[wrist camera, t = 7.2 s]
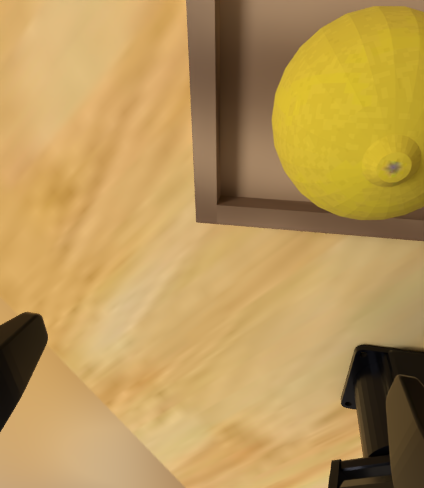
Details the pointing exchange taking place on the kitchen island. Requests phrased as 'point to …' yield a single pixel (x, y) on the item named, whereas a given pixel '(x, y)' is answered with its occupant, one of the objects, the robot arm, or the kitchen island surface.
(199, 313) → the kitchen island surface
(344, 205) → the lemon
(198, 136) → the walnut base
